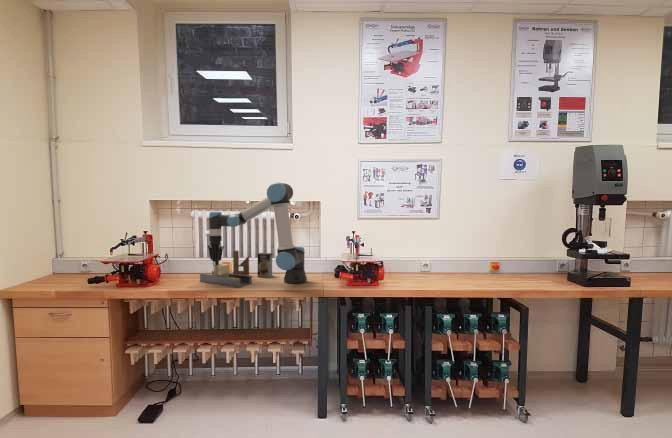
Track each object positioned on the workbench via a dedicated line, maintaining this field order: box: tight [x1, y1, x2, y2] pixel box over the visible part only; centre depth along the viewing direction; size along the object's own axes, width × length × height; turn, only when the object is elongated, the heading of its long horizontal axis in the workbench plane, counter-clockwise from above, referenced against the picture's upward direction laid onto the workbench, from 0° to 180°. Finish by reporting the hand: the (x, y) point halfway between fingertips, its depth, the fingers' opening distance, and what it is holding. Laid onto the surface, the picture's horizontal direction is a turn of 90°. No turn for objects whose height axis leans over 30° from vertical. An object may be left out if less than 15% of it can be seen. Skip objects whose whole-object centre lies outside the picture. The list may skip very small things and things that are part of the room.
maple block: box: [213, 263, 230, 277], centre depth 238 cm, size 6×7×10 cm
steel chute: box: [199, 270, 253, 289], centre depth 237 cm, size 34×12×5 cm, turn 60°
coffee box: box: [257, 252, 273, 278], centre depth 258 cm, size 9×6×16 cm
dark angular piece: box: [232, 250, 250, 275], centre depth 257 cm, size 4×11×18 cm, turn 96°
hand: (215, 270), depth 241 cm, fingers closed
